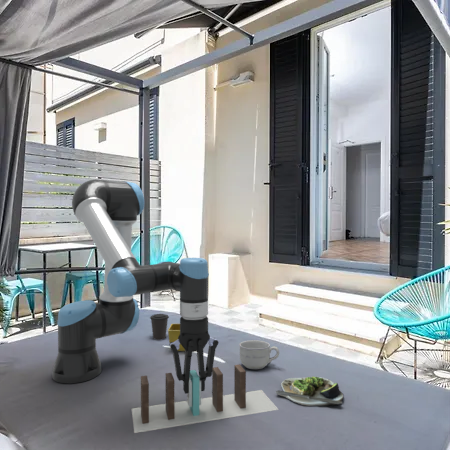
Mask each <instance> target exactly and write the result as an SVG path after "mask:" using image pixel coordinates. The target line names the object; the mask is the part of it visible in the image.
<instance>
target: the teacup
mask: <svg viewBox="0 0 450 450" xmlns="http://www.w3.org/2000/svg"><path fill="white" fill-rule="evenodd" d="M273 350H274V351H276V354H275V355H274V356H272V357H270V356H271V355H270V354H271V352H272V351H273ZM279 356H280V349H279V347H277V346H271V344H270V343H269V342H267V341H264V340H257V339H256V340H254V339H253V340H252V339H251V340H244V341H241V342H239V360H240V363H241V364H242V366H244V367H245V368H247V369H249V370H262V369H263V368H265V367H266V366H267V365H268V364H270V363H272V361H274V360H276V359H277V358H278V357H279Z"/></svg>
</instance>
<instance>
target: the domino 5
mask: <svg viewBox="0 0 450 450" xmlns="http://www.w3.org/2000/svg"><path fill="white" fill-rule="evenodd" d="M233 370H234V371H233V372H234V381H233V382H234V389H233V390H234V391H233V392H234V393H233V394H234V400H235V402H236V403H237V405H238V406H239V407H240V409H241V408H246V392H247V371H246V370H245V368H244V367H243V365H241V364H234V369H233Z"/></svg>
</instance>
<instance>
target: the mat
mask: <svg viewBox="0 0 450 450" xmlns="http://www.w3.org/2000/svg"><path fill="white" fill-rule="evenodd" d="M279 410H280V409H279V408H278V407H277V406H276V405H275V403H274V402H273V401H272V400H271V399H270V398H269V397H268V396H267V394H266V393H265V392H264V391H263V389H258V390H252V391H246V408H241V409H240V407H239V406H238V405H237V403H236V402H235V400H234V393H230V394H225V395H224V394H223V411H222V412H217V411H216V409H215V407H214V405H213V404H212V396H210V397H204V398H203V397H201V405H199V415H197V416H193V414H192V412H191V409H190V407H189V405H188V403H187V400H183V401H175V419H170V420H168V417H167V413H166V403H160V404H155V405H149V423H145V424H142V418H141V406H140V407H135V408H134V407H133V408H131V414H132V415H131V416H132V425H133V433H134V434H138V433H143V432H144V433H145V432H150V431H158V430H162V429H168V428H175V427H181V426H189V425H193V424H200V423H207V422H211V421H218V420H224V419H230V418H235V417H236V418H237V417H242V416H249V415H254V414H255V415H256V414H261V413H268V412H273V411H279Z"/></svg>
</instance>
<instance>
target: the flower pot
mask: <svg viewBox="0 0 450 450" xmlns="http://www.w3.org/2000/svg"><path fill="white" fill-rule="evenodd" d="M167 332H168V333H167V334H168V341H169V342H168V343H169V344H170V342H175V341H176V340H178V337H179V335H180V323H171V324H170V326H169V328H168V329H167ZM178 352H185V349H184V348H183V346H182V345H181V344H179V349H178Z"/></svg>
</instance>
